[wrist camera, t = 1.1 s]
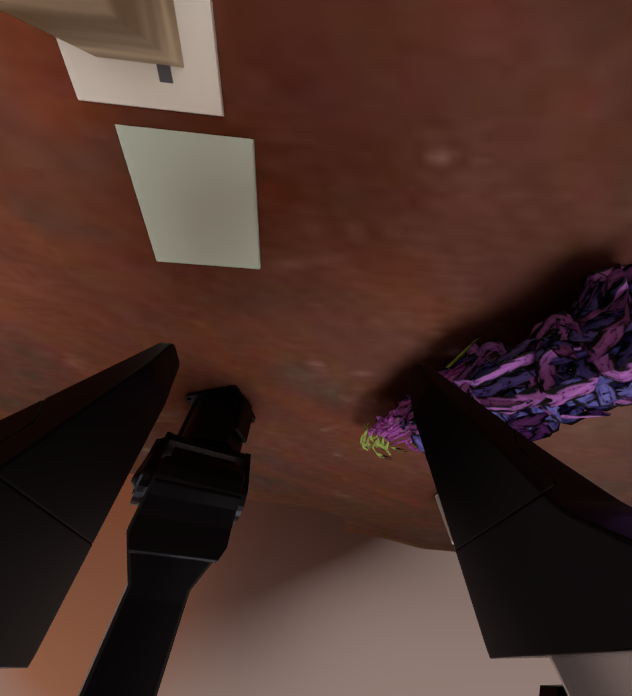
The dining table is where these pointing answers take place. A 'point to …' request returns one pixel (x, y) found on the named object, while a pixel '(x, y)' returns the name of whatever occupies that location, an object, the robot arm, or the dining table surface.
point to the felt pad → (195, 195)
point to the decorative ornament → (545, 368)
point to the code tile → (157, 70)
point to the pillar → (107, 27)
